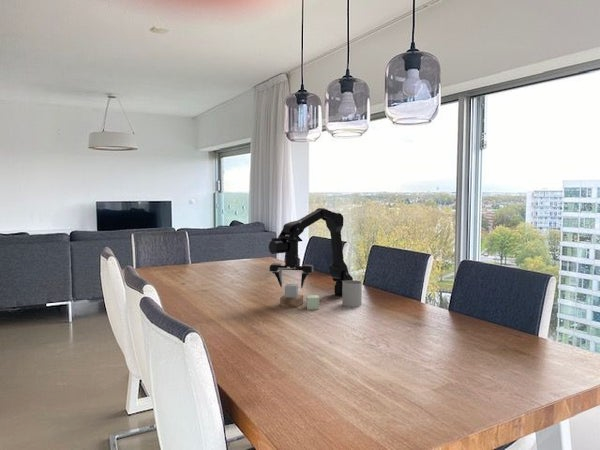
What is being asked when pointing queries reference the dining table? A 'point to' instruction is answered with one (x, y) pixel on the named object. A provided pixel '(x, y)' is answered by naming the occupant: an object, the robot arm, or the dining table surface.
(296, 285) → the grey cube
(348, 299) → the cup
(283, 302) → the walnut base
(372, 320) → the dining table surface
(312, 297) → the sage cube
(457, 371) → the dining table surface
